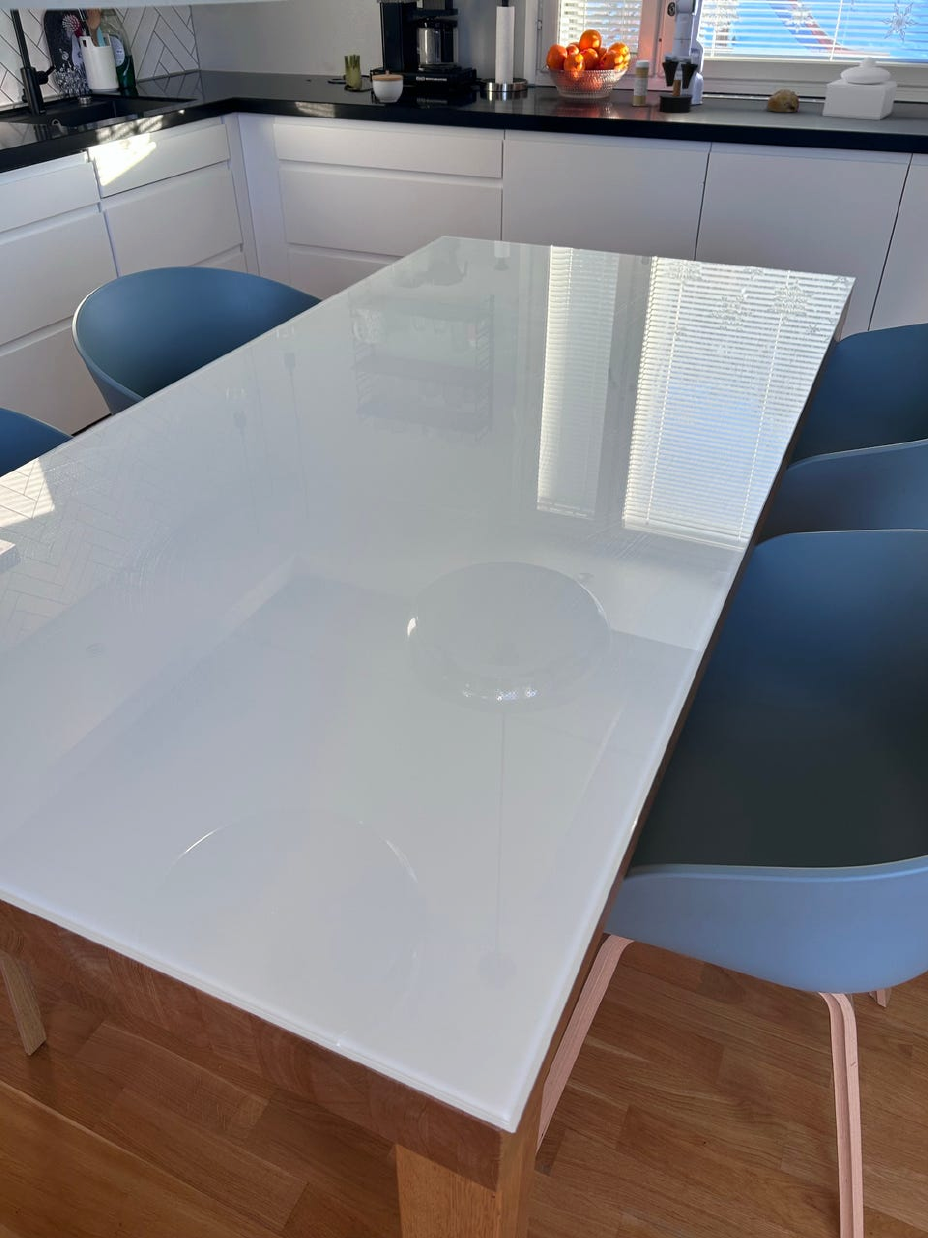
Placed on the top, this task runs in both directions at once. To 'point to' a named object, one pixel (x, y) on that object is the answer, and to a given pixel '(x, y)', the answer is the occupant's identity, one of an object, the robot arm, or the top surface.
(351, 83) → the fennel bulb
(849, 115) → the white lidded box
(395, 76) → the sugar bowl
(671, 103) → the pan
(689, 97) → the pan lid
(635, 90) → the sprinkles bottle
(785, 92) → the bread roll
